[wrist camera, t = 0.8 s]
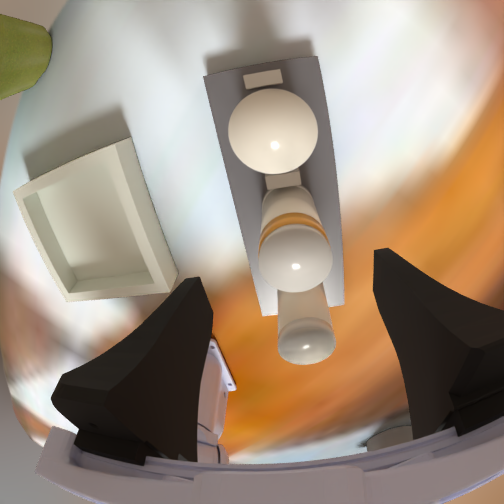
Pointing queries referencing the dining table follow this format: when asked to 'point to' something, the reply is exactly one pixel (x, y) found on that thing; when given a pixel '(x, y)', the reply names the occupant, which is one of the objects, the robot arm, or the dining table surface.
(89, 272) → the tray
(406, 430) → the grey block
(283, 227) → the cylinder
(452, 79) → the dining table surface
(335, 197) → the fuse holder
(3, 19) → the plant pot
